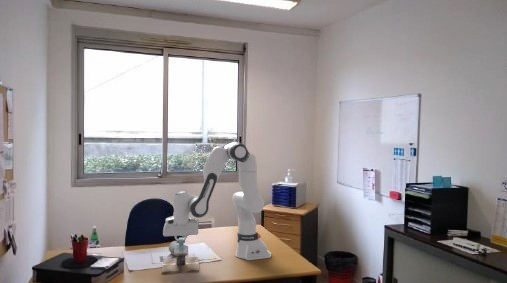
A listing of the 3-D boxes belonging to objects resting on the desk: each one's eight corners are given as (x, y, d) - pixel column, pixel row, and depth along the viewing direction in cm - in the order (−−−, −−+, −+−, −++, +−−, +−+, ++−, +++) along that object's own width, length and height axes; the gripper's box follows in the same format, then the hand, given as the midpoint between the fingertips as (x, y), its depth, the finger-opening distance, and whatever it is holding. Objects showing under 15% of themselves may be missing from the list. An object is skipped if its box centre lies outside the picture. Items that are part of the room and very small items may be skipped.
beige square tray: (198, 258, 222) (198, 247, 221) (199, 272, 202) (199, 259, 202) (163, 260, 218) (164, 248, 218) (161, 273, 198) (161, 261, 198)
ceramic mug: (172, 258, 222) (172, 245, 222) (168, 253, 229) (168, 241, 229) (189, 255, 228) (189, 243, 227) (184, 251, 235) (184, 239, 234)
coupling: (187, 248, 218) (187, 237, 218) (188, 257, 203) (188, 245, 203) (173, 249, 216) (174, 238, 216) (173, 258, 201) (173, 246, 201)
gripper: (198, 217, 220) (198, 240, 221) (163, 218, 215) (162, 242, 216) (199, 219, 214) (199, 243, 215) (163, 221, 209) (163, 245, 210)
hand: (180, 242), depth 215 cm, fingers closed on coupling, 2 cm apart
